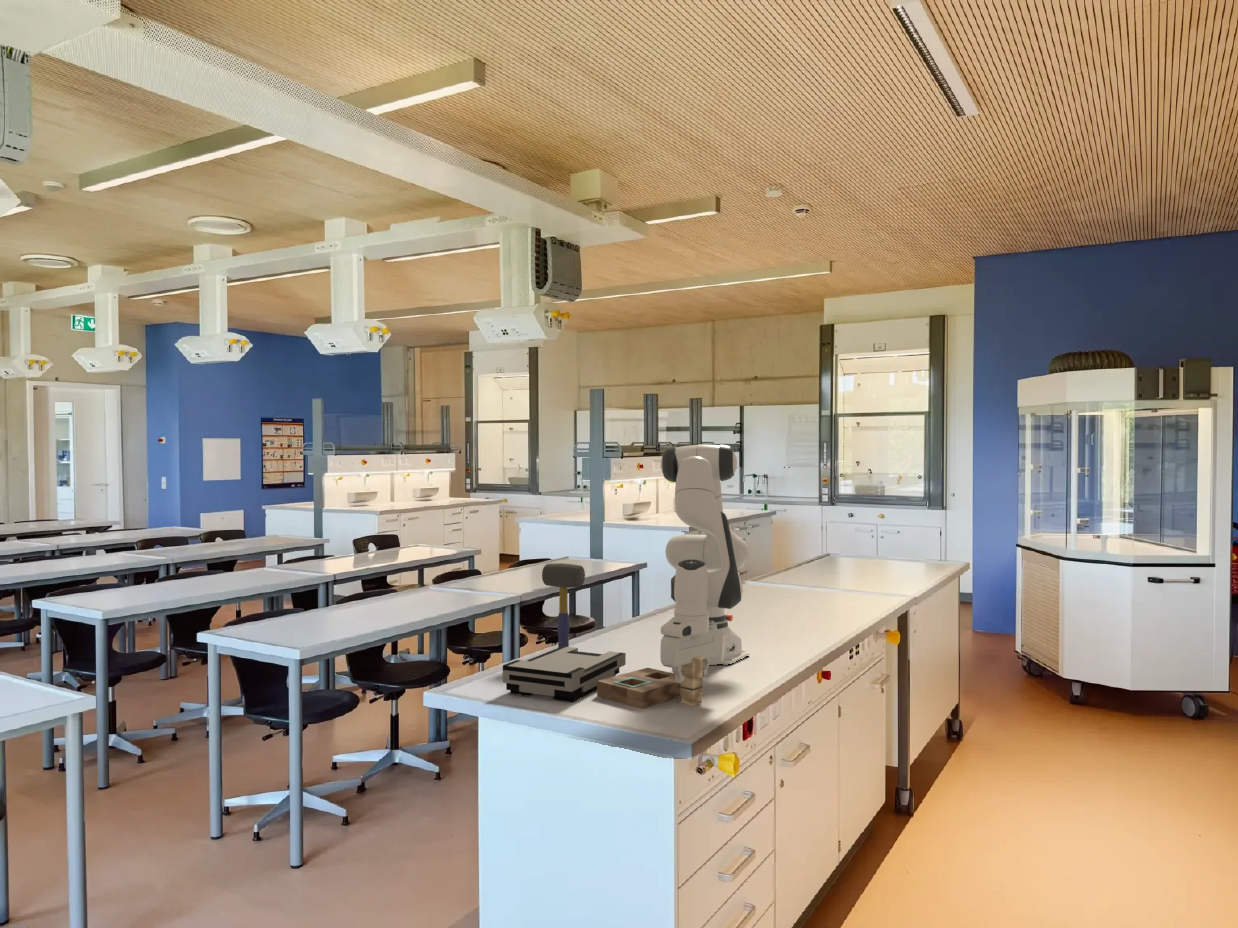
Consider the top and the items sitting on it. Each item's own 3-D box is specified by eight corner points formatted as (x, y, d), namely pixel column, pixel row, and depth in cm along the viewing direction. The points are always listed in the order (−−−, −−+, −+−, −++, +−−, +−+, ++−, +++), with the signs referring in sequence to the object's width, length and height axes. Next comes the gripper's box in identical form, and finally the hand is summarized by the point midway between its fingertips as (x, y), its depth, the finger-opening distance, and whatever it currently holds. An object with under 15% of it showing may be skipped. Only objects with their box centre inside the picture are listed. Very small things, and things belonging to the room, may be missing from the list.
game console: (625, 677, 240) (625, 648, 240) (571, 706, 211) (571, 673, 211) (562, 669, 249) (562, 642, 249) (502, 696, 220) (502, 665, 220)
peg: (690, 699, 215) (690, 653, 215) (702, 703, 212) (702, 656, 212) (680, 703, 212) (680, 656, 212) (692, 706, 209) (692, 658, 209)
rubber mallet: (540, 660, 259) (540, 563, 259) (551, 655, 266) (551, 561, 266) (576, 663, 254) (576, 565, 254) (586, 658, 261) (586, 562, 261)
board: (647, 681, 233) (647, 666, 233) (692, 692, 222) (692, 676, 222) (597, 696, 219) (597, 680, 219) (642, 708, 208) (642, 691, 208)
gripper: (706, 617, 222) (706, 669, 222) (656, 628, 207) (656, 684, 207) (725, 620, 218) (725, 673, 218) (675, 631, 203) (675, 688, 203)
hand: (691, 678), depth 212 cm, fingers open, 8 cm apart
